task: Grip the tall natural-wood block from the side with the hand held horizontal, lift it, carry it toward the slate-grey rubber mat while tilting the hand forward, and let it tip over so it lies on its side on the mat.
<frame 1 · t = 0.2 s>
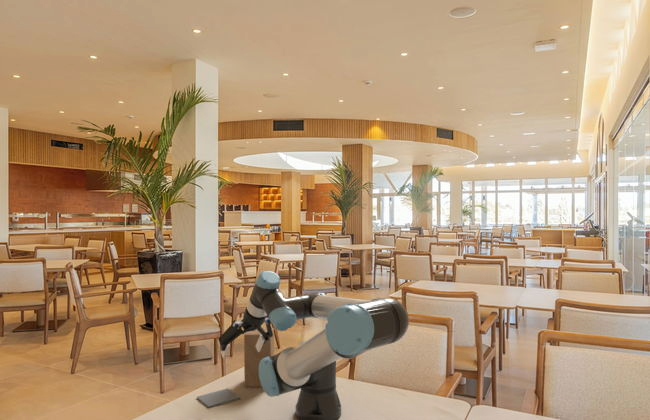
hand: (240, 352, 169), 16 cm above the table, tool tilted 35°, fingers open, 13 cm apart
mat: (218, 398, 166), on the table
wooden block: (259, 382, 181), on the table
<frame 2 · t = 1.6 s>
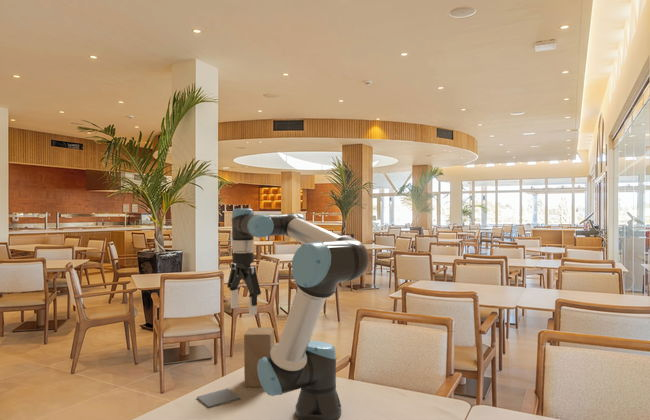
hand: (243, 311, 167), 31 cm above the table, tool pointing down, fingers open, 13 cm apart
nothing on the table moved.
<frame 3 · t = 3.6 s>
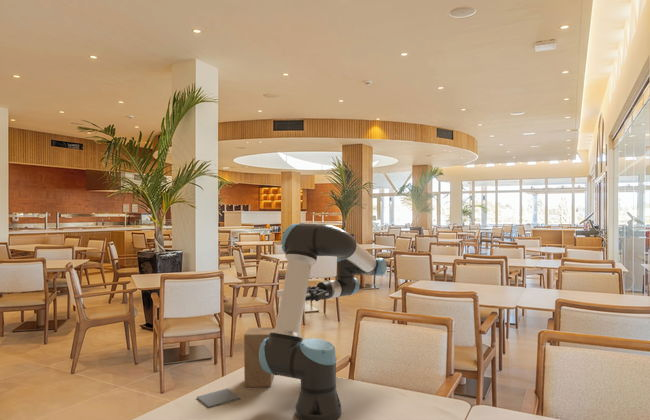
hand: (286, 296, 188), 32 cm above the table, tool horizontal, fingers open, 13 cm apart
nothing on the table moved.
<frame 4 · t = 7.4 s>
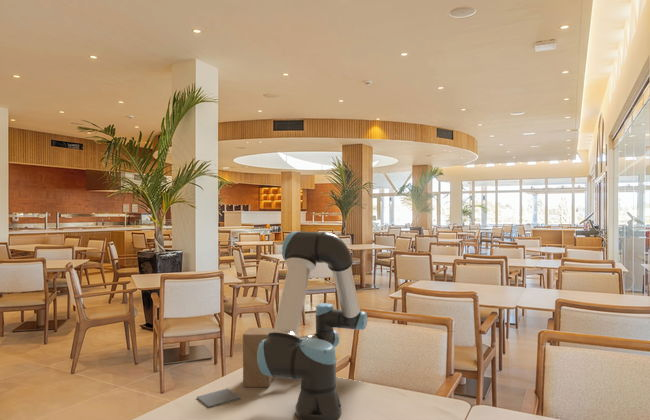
hand: (261, 355, 182), 10 cm above the table, tool horizontal, fingers open, 13 cm apart
wooden block: (258, 382, 181), on the table, touching gripper
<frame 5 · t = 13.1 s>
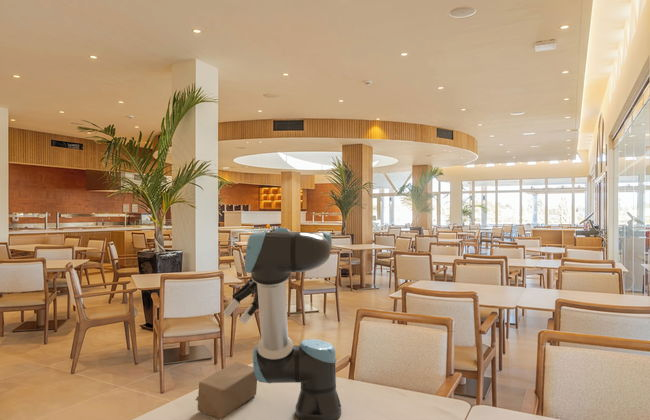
hand: (233, 318, 171), 27 cm above the table, tool tilted 45°, fingers open, 12 cm apart
wooden block: (246, 377, 170), point 6 cm above the table
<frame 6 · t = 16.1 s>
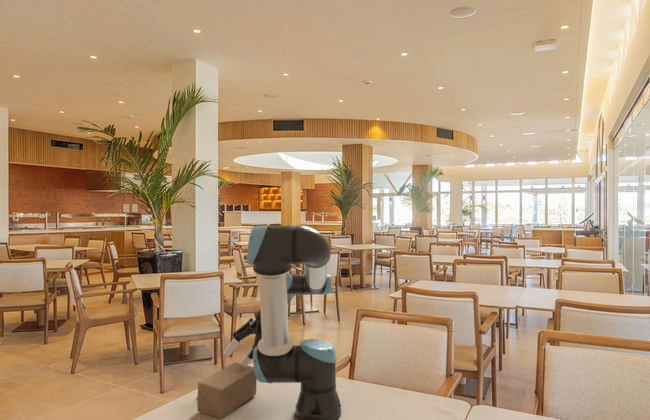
hand: (233, 360, 172), 12 cm above the table, tool tilted 45°, fingers open, 13 cm apart
wooden block: (246, 377, 170), point 6 cm above the table, touching gripper, mat
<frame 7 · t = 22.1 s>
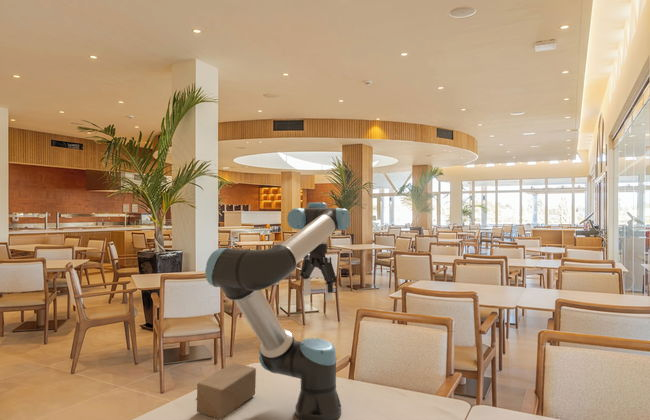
hand: (317, 298, 179), 33 cm above the table, tool pointing down, fingers open, 13 cm apart
wooden block: (244, 377, 170), point 6 cm above the table, touching mat
at the end: wooden block tilted 92°; wooden block touching mat, table; the gripper is holding nothing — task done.
